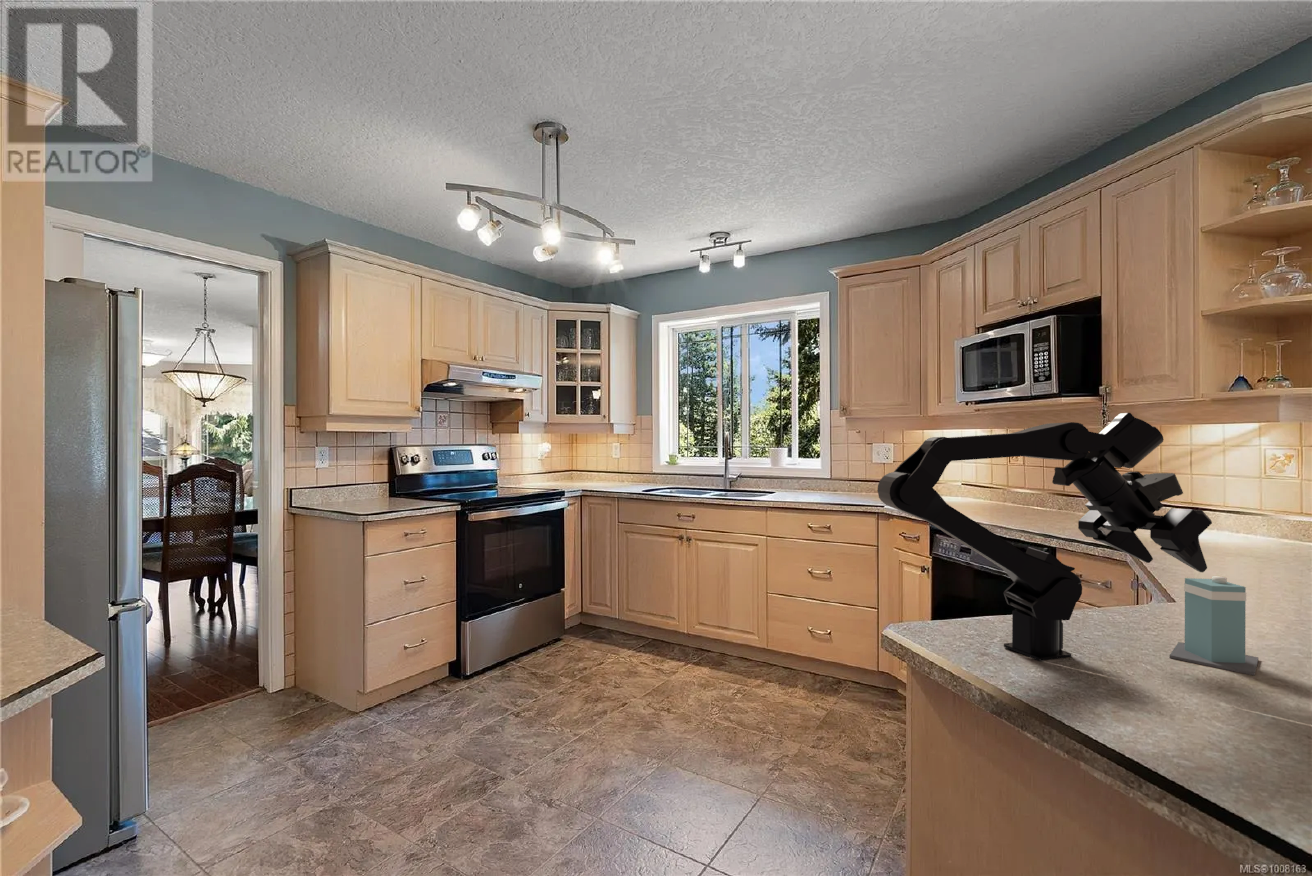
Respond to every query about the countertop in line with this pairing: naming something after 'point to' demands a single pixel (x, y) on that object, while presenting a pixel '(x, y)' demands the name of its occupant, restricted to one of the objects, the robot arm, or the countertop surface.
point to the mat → (1246, 667)
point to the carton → (1215, 619)
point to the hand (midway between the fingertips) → (1175, 565)
